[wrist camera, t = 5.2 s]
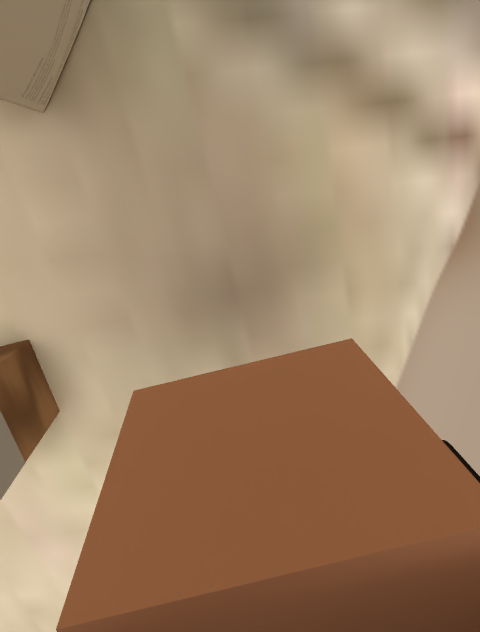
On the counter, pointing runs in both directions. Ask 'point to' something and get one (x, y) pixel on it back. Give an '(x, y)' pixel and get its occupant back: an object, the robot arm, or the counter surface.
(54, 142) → the counter surface
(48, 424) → the walnut block
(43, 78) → the skincare box
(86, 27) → the counter surface
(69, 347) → the counter surface
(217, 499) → the terracotta block
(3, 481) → the slate block
